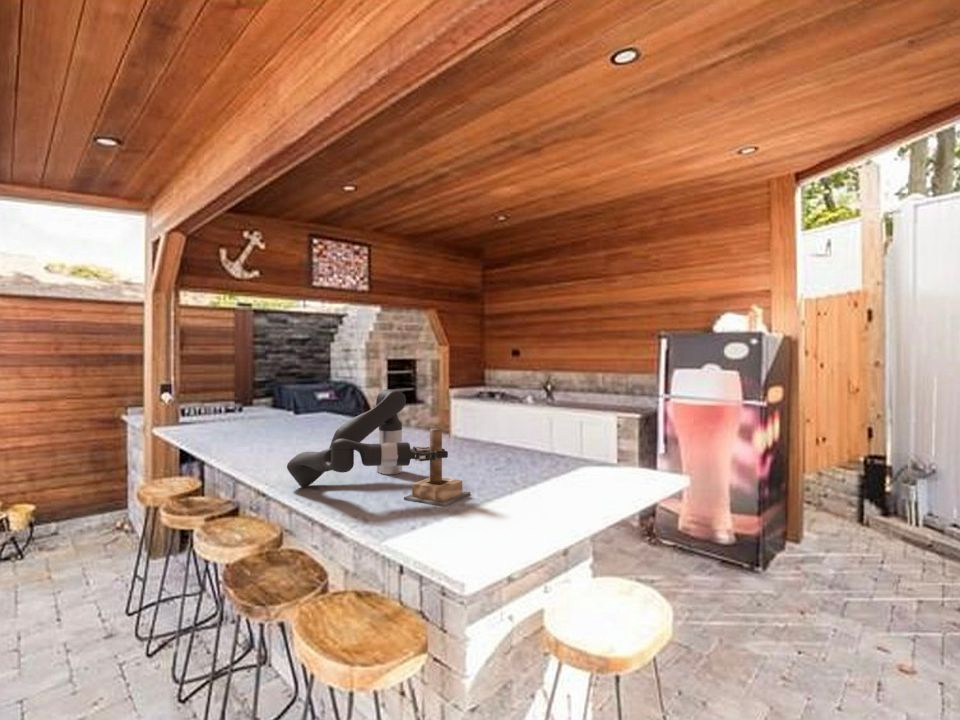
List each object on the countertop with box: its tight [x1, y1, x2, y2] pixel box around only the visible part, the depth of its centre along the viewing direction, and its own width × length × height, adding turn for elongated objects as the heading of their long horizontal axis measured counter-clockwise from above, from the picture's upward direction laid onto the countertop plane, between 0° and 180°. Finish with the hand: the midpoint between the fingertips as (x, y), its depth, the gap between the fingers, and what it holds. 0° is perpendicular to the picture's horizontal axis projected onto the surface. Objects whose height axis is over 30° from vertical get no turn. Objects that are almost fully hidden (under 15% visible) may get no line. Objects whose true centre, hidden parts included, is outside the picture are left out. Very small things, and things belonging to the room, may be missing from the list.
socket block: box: [403, 477, 471, 507], centre depth 180 cm, size 16×16×5 cm
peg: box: [429, 428, 443, 485], centre depth 180 cm, size 4×4×20 cm
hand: (445, 453), depth 181 cm, fingers closed on peg, 4 cm apart
